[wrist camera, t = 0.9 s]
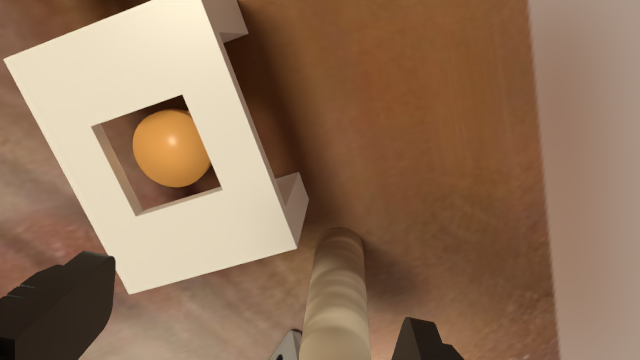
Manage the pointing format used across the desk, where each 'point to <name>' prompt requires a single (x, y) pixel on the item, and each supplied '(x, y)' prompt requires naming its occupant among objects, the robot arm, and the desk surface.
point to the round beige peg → (337, 301)
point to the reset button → (170, 148)
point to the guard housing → (145, 90)
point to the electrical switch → (288, 347)
